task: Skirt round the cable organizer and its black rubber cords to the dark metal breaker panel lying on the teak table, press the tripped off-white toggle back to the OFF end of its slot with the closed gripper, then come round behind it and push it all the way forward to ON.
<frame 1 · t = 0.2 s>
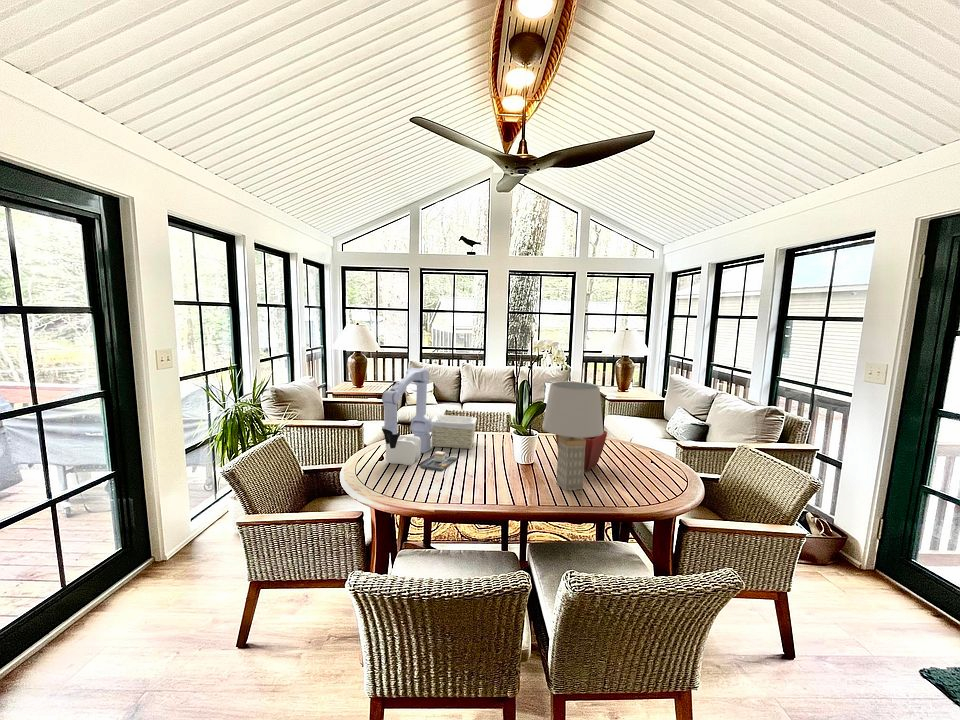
hand: (390, 445, 200), 10 cm above the table, fingers open, 7 cm apart
cords: (427, 460, 211), on the table
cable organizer: (402, 461, 210), on the table
plant pot: (579, 465, 212), on the table
toggle: (439, 456, 207), point 4 cm above the table, slide at 4.0 cm
lamp: (569, 486, 185), on the table
breaker panel: (439, 463, 208), on the table
storage basket: (453, 445, 239), on the table
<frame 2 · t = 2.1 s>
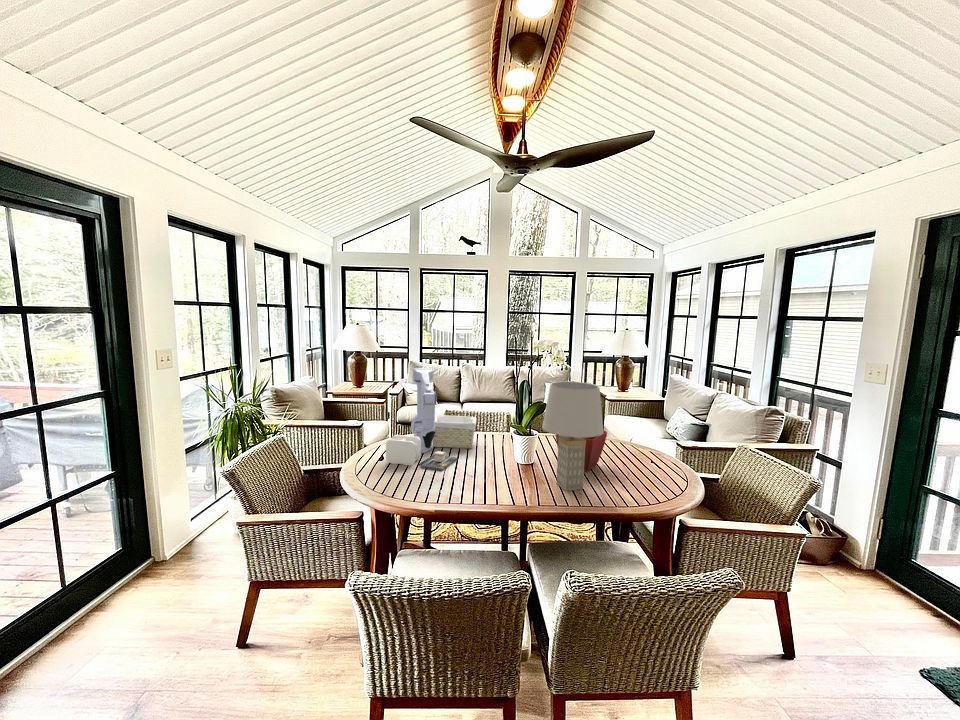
hand: (428, 447, 200), 10 cm above the table, fingers closed
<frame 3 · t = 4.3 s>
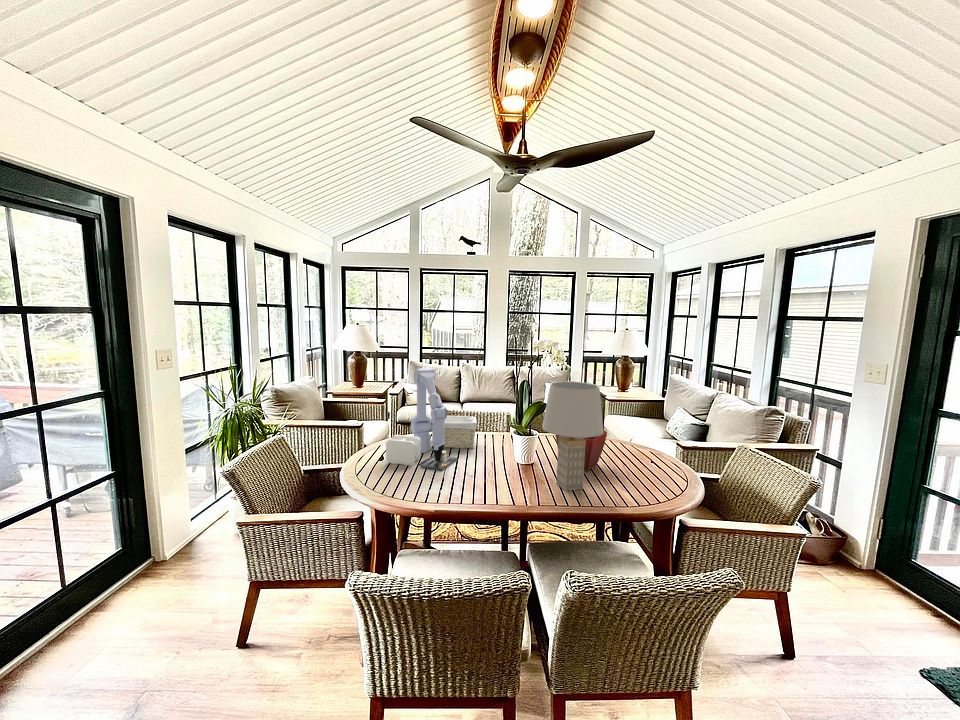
hand: (437, 460, 206), 2 cm above the table, fingers closed
toggle: (441, 455, 209), point 3 cm above the table, slide at 2.3 cm, touching gripper
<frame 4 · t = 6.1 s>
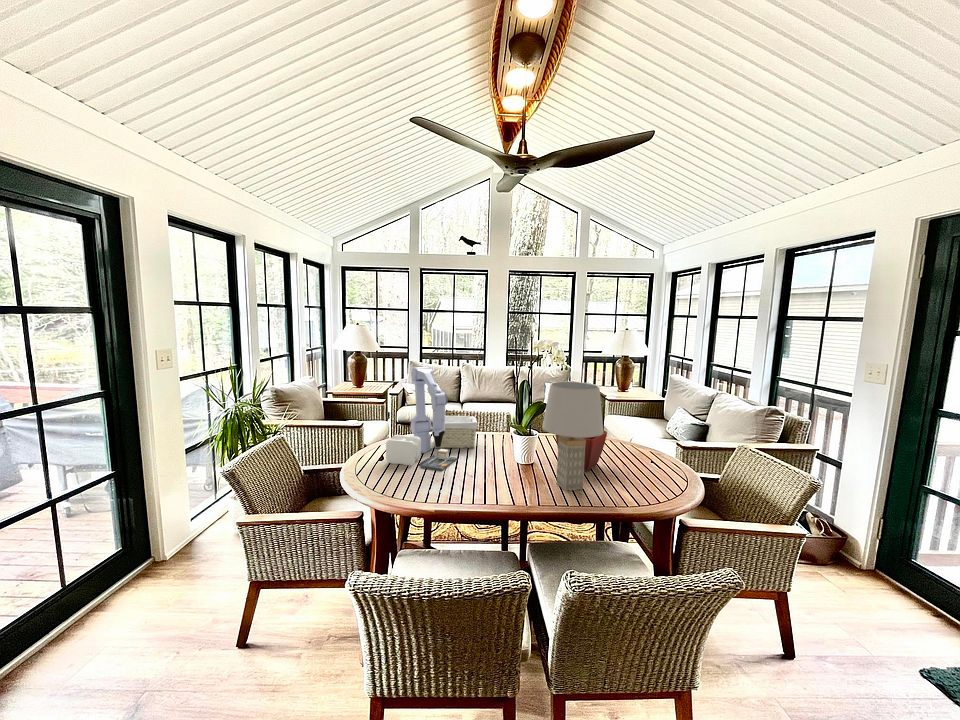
hand: (438, 446, 205), 9 cm above the table, fingers closed
toggle: (443, 454, 211), point 3 cm above the table, slide at 0.0 cm
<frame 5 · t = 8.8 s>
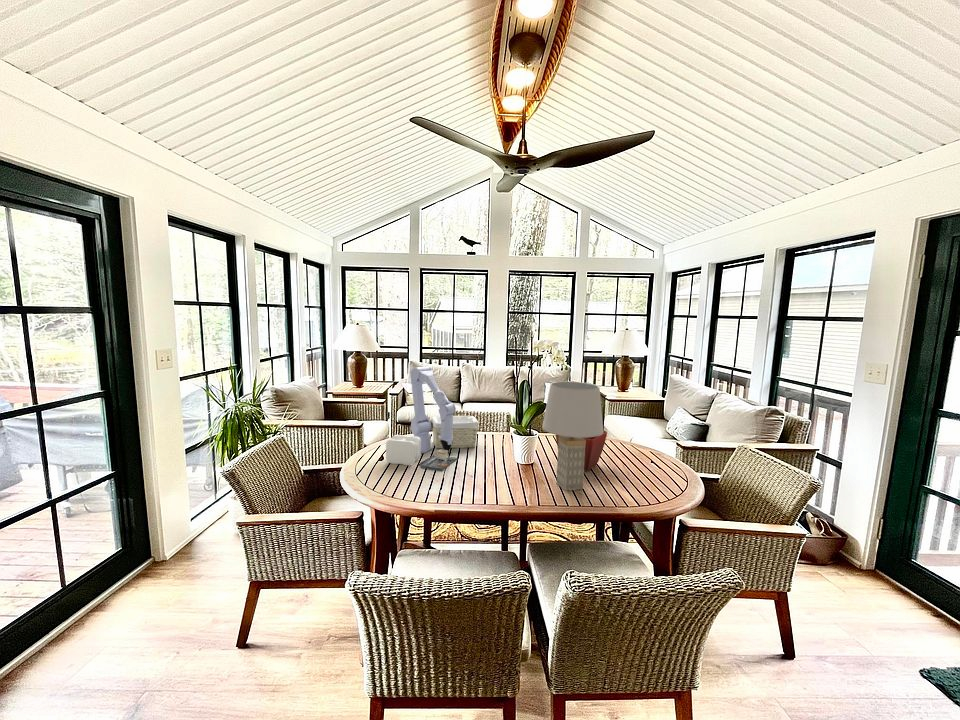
hand: (446, 454, 214), 2 cm above the table, fingers closed
toggle: (442, 454, 211), point 3 cm above the table, slide at 0.6 cm, touching gripper
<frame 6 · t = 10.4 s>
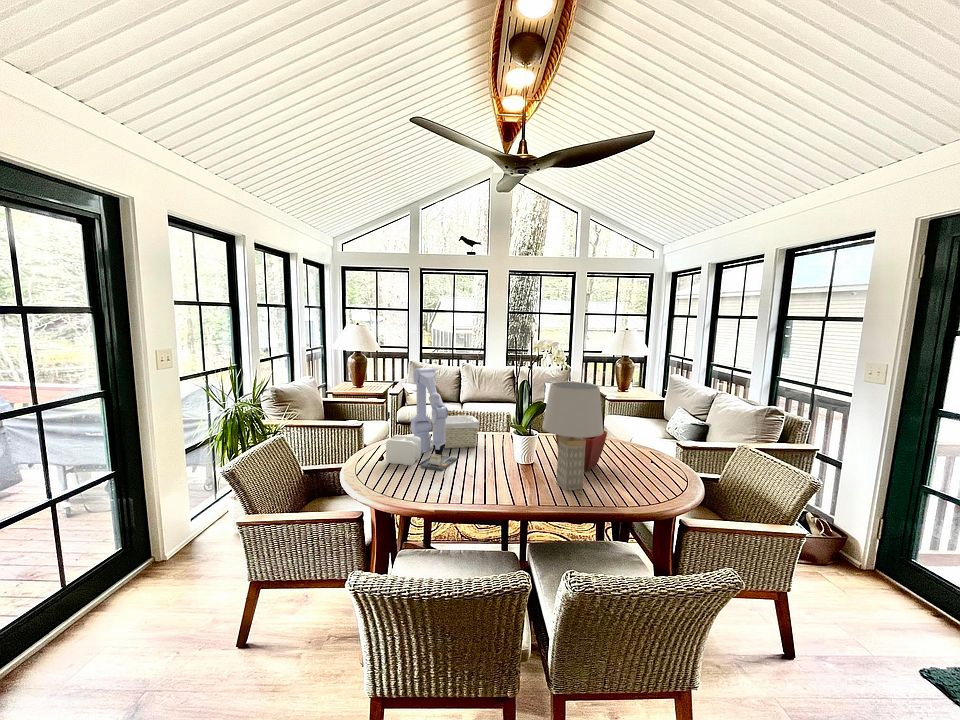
hand: (438, 459, 207), 2 cm above the table, fingers closed
toggle: (435, 459, 204), point 3 cm above the table, slide at 8.2 cm, touching gripper
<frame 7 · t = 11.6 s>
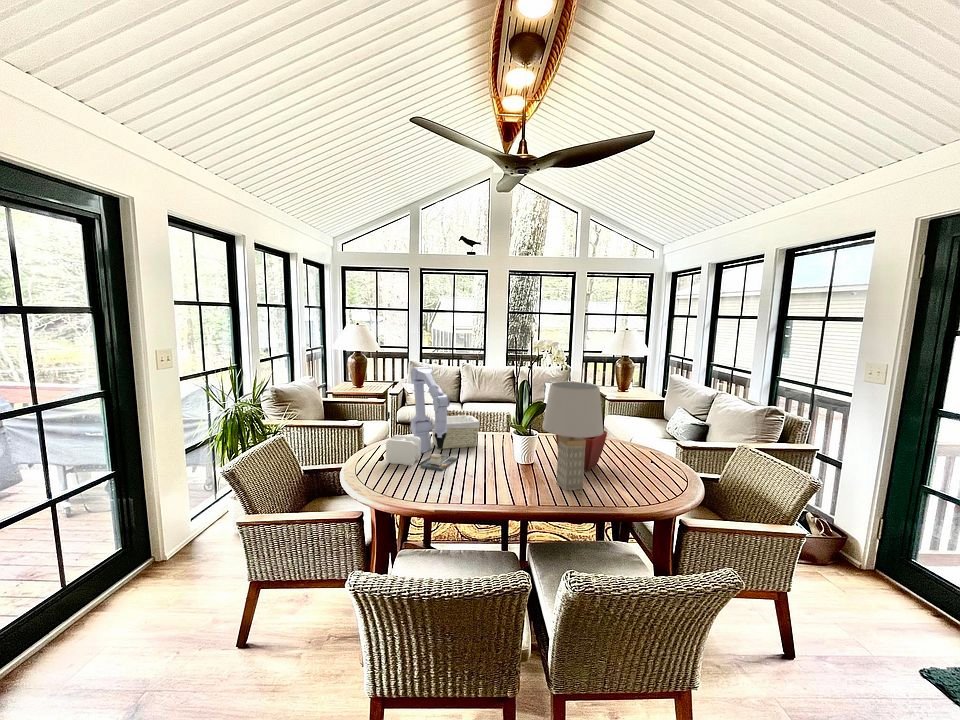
hand: (440, 448, 208), 7 cm above the table, fingers closed
toggle: (435, 459, 204), point 3 cm above the table, slide at 8.0 cm
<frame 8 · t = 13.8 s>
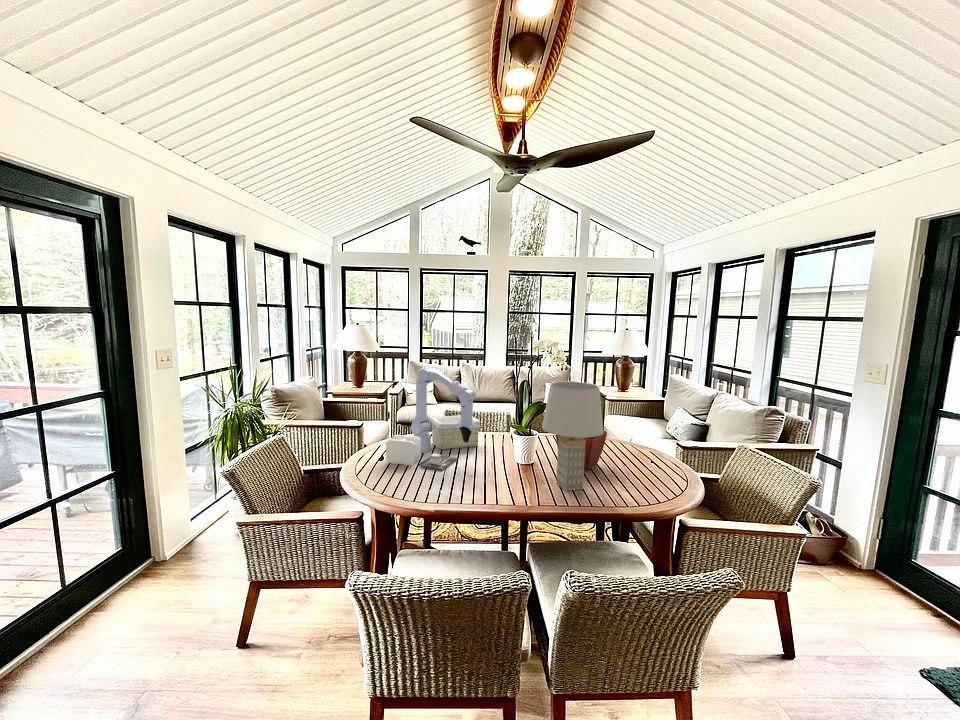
hand: (465, 441, 211), 10 cm above the table, fingers closed
at the end: toggle slide at 8.0 cm; the gripper is holding nothing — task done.
